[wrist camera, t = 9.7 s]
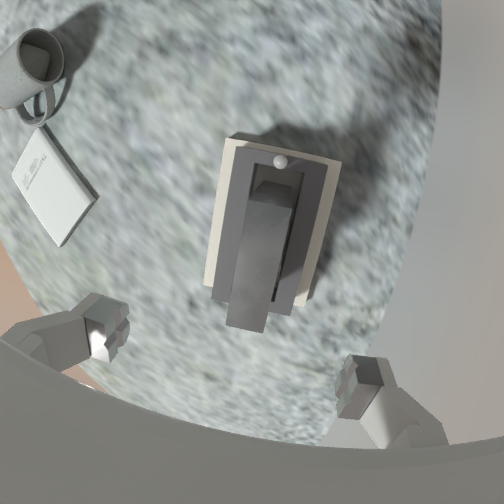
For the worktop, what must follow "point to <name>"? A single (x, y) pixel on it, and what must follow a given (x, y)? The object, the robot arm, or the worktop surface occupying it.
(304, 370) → the worktop surface
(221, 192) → the dock
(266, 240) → the block
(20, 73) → the ceramic mug
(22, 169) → the external hard drive
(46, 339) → the robot arm
